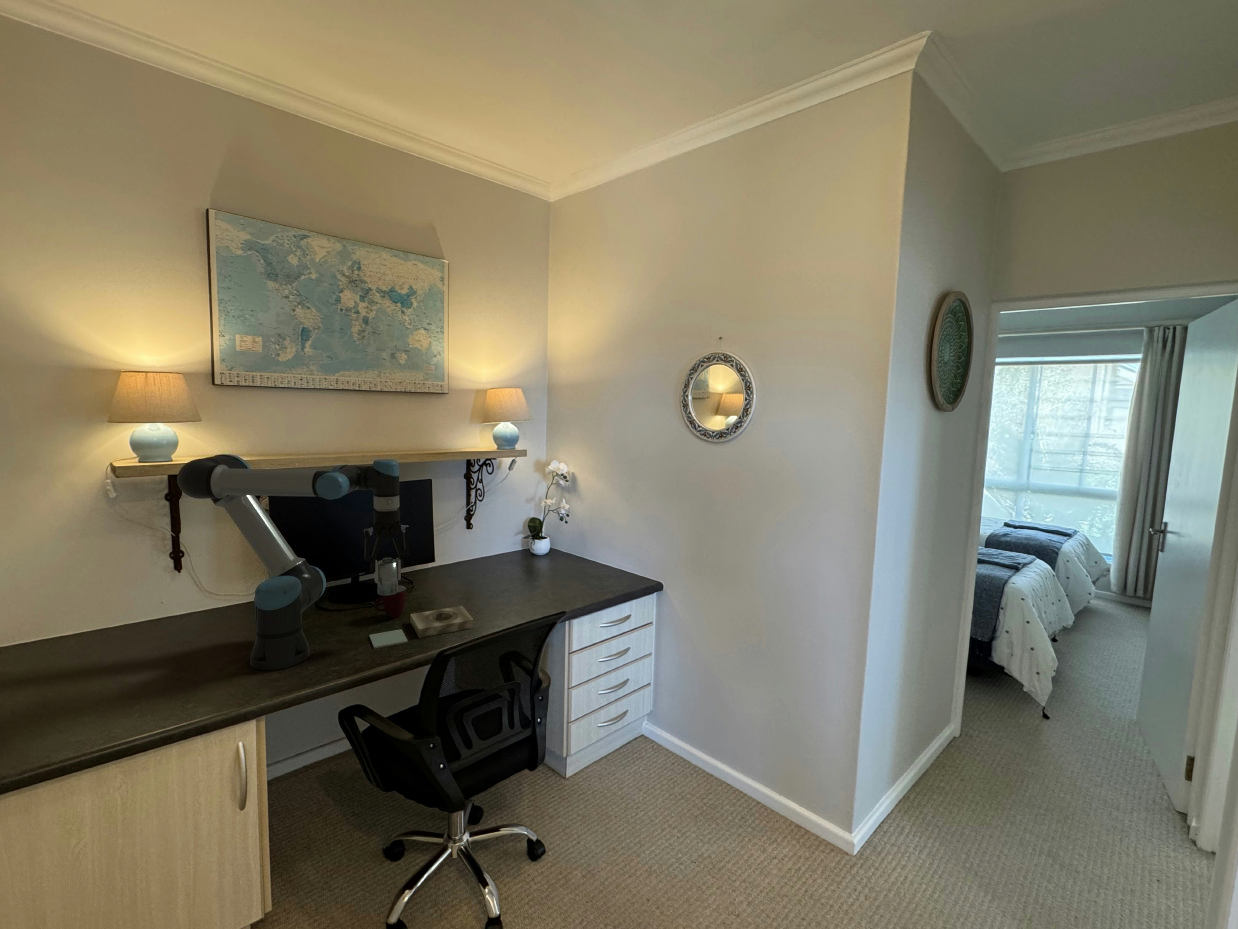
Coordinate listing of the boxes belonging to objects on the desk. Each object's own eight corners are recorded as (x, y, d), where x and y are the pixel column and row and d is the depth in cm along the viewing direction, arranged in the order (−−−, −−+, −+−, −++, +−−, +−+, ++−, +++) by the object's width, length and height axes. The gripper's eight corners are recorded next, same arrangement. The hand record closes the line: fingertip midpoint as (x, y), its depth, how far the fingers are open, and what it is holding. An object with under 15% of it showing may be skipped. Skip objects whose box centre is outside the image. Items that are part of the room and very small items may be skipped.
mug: (378, 623, 198) (377, 595, 196) (372, 616, 204) (371, 589, 203) (409, 617, 204) (409, 590, 203) (402, 610, 210) (402, 583, 209)
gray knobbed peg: (379, 596, 180) (378, 562, 178) (376, 590, 185) (375, 557, 183) (399, 593, 183) (399, 560, 181) (396, 588, 188) (395, 555, 186)
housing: (419, 637, 188) (419, 629, 188) (410, 622, 200) (410, 614, 199) (473, 627, 197) (473, 619, 197) (461, 613, 209) (461, 605, 209)
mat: (374, 648, 179) (374, 646, 179) (369, 636, 187) (369, 634, 187) (407, 642, 184) (407, 640, 184) (401, 631, 193) (401, 629, 193)
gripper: (355, 513, 172) (356, 588, 175) (420, 508, 182) (421, 579, 185) (352, 508, 179) (353, 580, 182) (415, 504, 189) (416, 572, 191)
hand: (387, 579), depth 183 cm, fingers closed on gray knobbed peg, 6 cm apart
